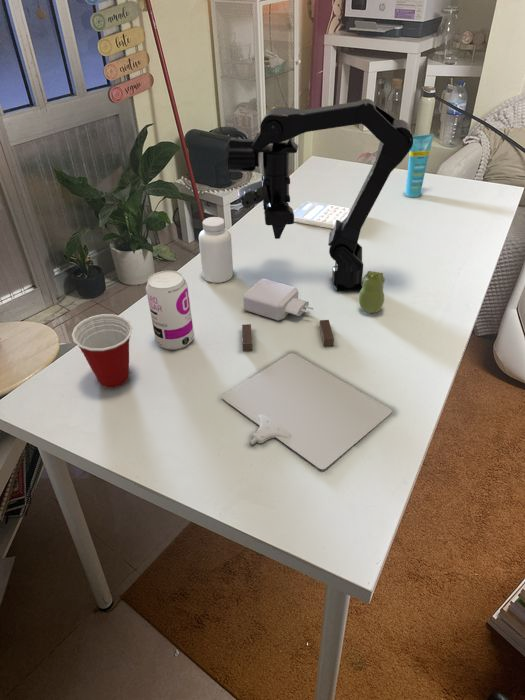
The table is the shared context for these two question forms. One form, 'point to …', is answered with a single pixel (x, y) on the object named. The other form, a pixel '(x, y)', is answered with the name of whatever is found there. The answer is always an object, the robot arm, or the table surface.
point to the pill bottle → (215, 250)
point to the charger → (274, 300)
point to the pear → (372, 292)
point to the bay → (323, 325)
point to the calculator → (320, 214)
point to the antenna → (306, 409)
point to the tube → (417, 164)
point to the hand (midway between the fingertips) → (277, 237)
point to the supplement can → (170, 309)
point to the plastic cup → (105, 347)
